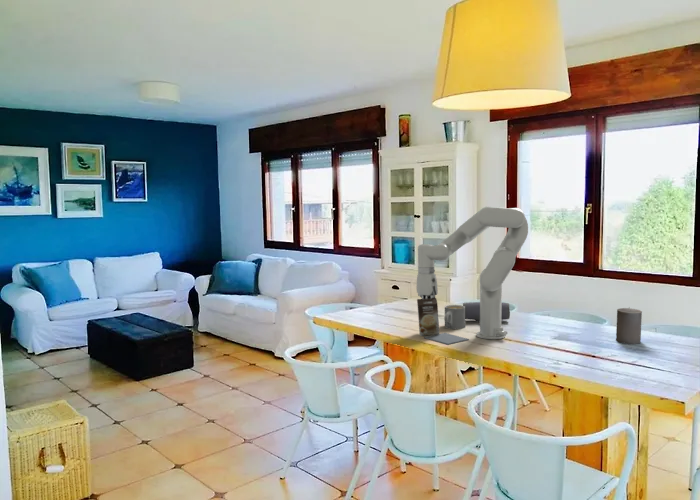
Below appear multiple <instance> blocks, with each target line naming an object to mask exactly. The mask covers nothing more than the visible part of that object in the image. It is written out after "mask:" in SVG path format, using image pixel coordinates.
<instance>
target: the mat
mask: <svg viewBox="0 0 700 500" xmlns="http://www.w3.org/2000/svg"><path fill="white" fill-rule="evenodd" d="M424 339H427V340H430V341H433V342H436V343H440V344H444V345H447V346H449V345H453V344H456V343H462V342H466V341H469V340H470V338H466V337H464V336H459V335H456V334H451V333H446V332H442V333H439V335H426V336H424Z"/></svg>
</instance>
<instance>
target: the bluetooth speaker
mask: <svg viewBox="0 0 700 500" xmlns="http://www.w3.org/2000/svg"><path fill="white" fill-rule="evenodd" d="M462 306H465V320H467V321H468V320H471V321H475V322H476V323H480V301H477V302H474V301H473V302H472V301H471V302H464V303H463V302H462ZM510 316H511V311H510V304H509V303H508V302H502V303H501V321H504V320H510Z"/></svg>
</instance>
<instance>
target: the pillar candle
mask: <svg viewBox="0 0 700 500" xmlns="http://www.w3.org/2000/svg"><path fill="white" fill-rule="evenodd" d="M642 313H643V311H642V310H641V309H636V308H630V307H623V308H617V309H616V330H615V331H616V333H615V336H616V338H615V341H616V342H617V343H620V344H621V343H622V344H625V345H626V344H628V345H638V344H641V339H642V320H643V319H642V316H643V315H642Z"/></svg>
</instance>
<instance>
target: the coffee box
mask: <svg viewBox="0 0 700 500" xmlns="http://www.w3.org/2000/svg"><path fill="white" fill-rule="evenodd" d="M416 301H417V305H416V306H417V317H418V327H419V329H418V330H419V331H418V332H419V336H420V337H421V336H422V337H423V336H424V337H425V336H432V335H439V334H440V321H439V308H438V306H439V305H438V300H437V297H435V298H433V299H432V298H429V299H422V298H417V299H416Z"/></svg>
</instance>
